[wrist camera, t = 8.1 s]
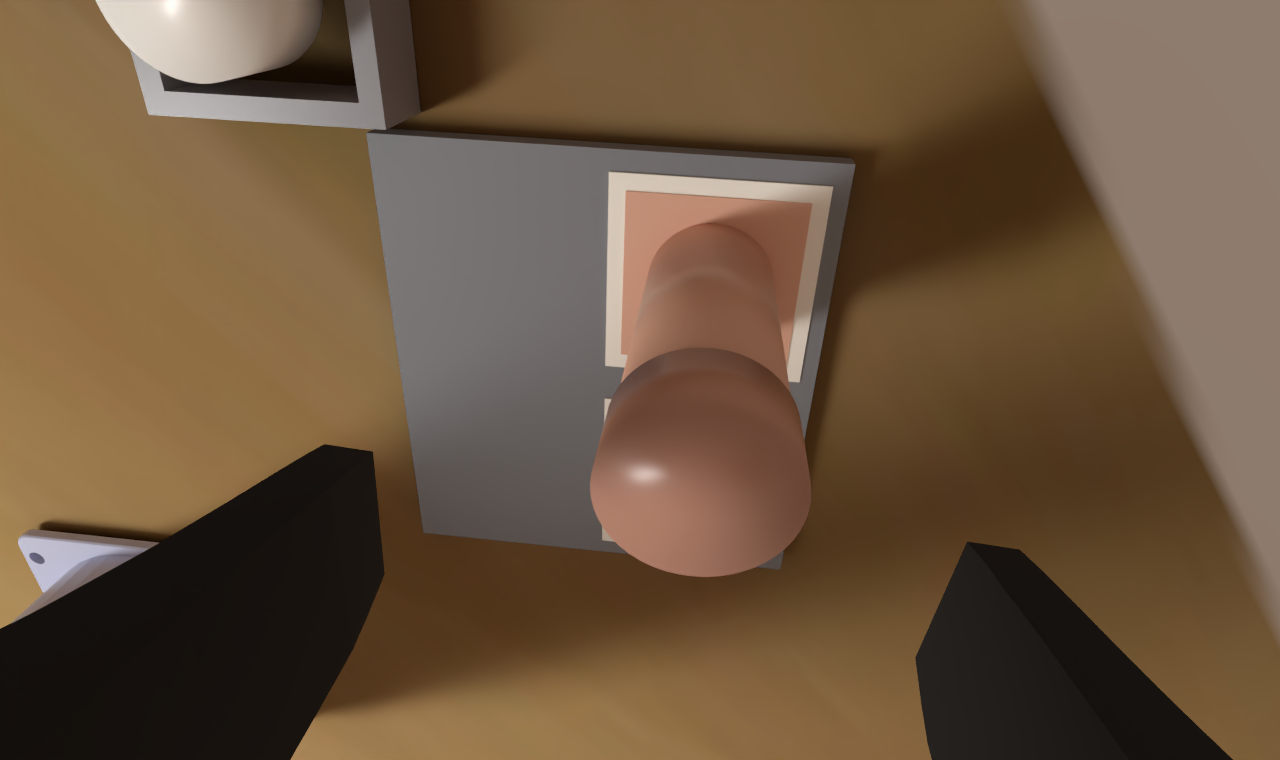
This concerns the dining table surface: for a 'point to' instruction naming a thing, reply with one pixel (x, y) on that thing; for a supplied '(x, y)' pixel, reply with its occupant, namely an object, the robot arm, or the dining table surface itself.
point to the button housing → (370, 104)
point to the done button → (215, 34)
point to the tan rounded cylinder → (704, 416)
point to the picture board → (564, 302)
